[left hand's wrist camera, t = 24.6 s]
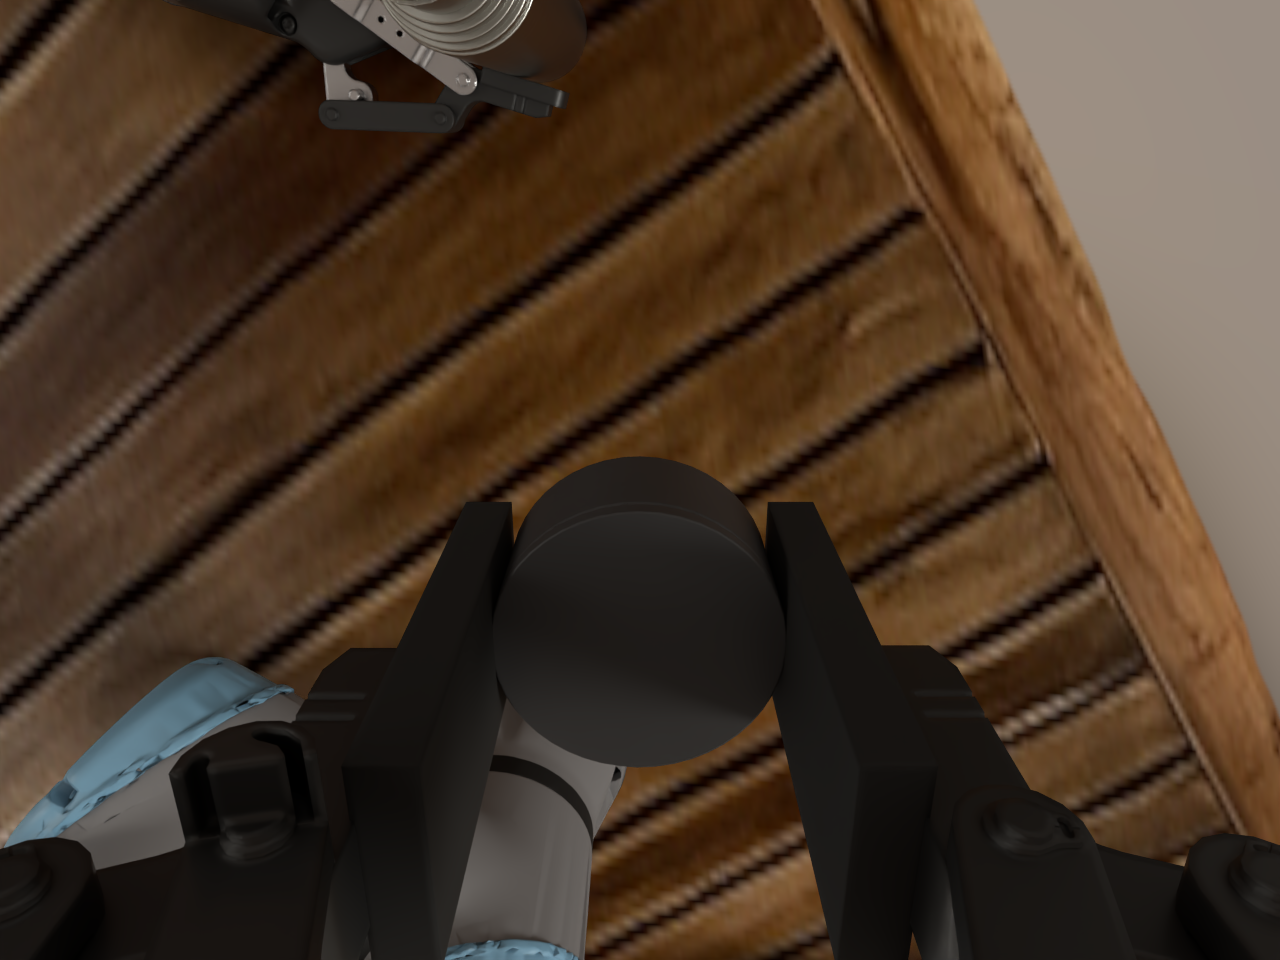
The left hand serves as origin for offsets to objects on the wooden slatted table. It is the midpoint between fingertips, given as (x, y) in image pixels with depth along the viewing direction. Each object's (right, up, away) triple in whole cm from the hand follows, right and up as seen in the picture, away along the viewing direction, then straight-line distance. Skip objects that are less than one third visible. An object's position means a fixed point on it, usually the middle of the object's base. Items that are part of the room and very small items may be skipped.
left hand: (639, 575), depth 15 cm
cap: (0, -1, -2) cm, 2 cm away
